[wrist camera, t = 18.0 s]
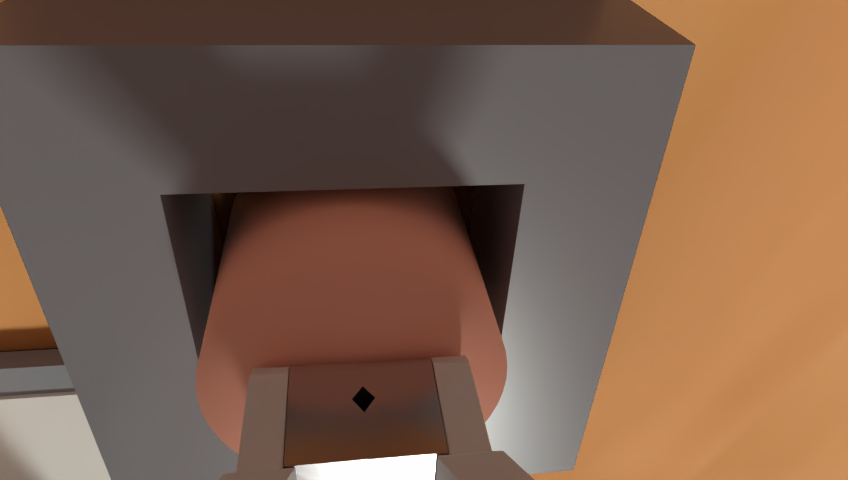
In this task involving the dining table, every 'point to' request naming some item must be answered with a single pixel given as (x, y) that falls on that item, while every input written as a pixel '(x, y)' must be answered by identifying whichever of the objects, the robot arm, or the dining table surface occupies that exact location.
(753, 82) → the dining table surface
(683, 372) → the dining table surface
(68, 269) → the button housing
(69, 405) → the picture board
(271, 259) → the button
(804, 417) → the dining table surface
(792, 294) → the dining table surface
